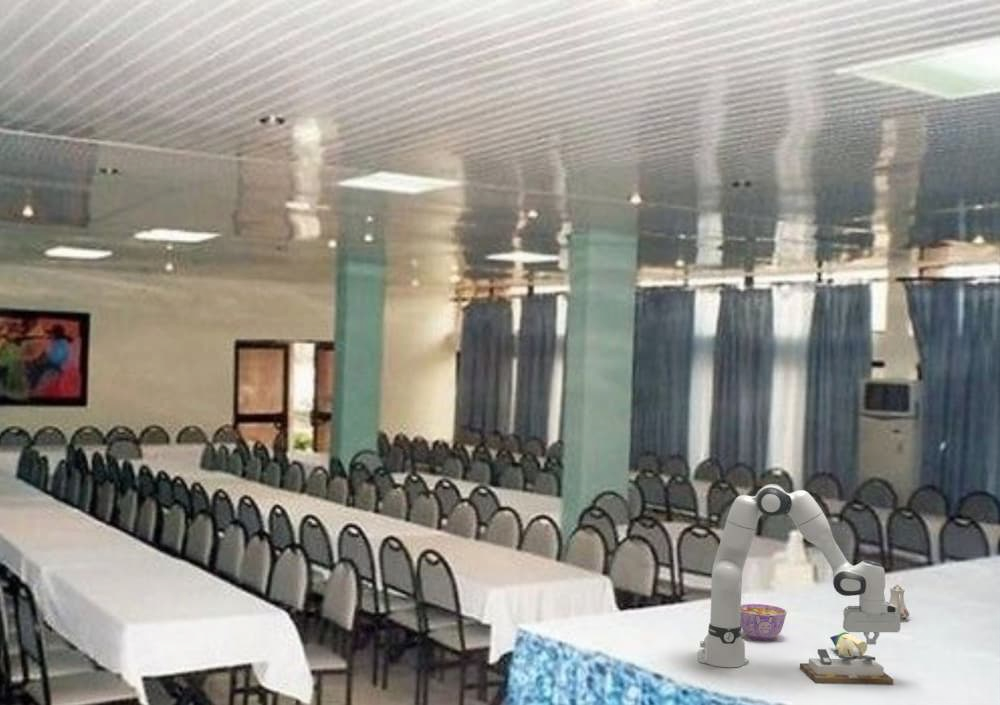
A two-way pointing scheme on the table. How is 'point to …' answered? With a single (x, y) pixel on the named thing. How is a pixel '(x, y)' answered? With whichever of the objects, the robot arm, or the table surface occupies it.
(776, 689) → the table surface
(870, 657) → the block
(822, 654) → the block
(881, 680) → the chart board
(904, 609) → the chinaware
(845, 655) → the rocker
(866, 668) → the switch housing
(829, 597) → the table surface
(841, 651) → the cartoon head
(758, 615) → the bowl of food
